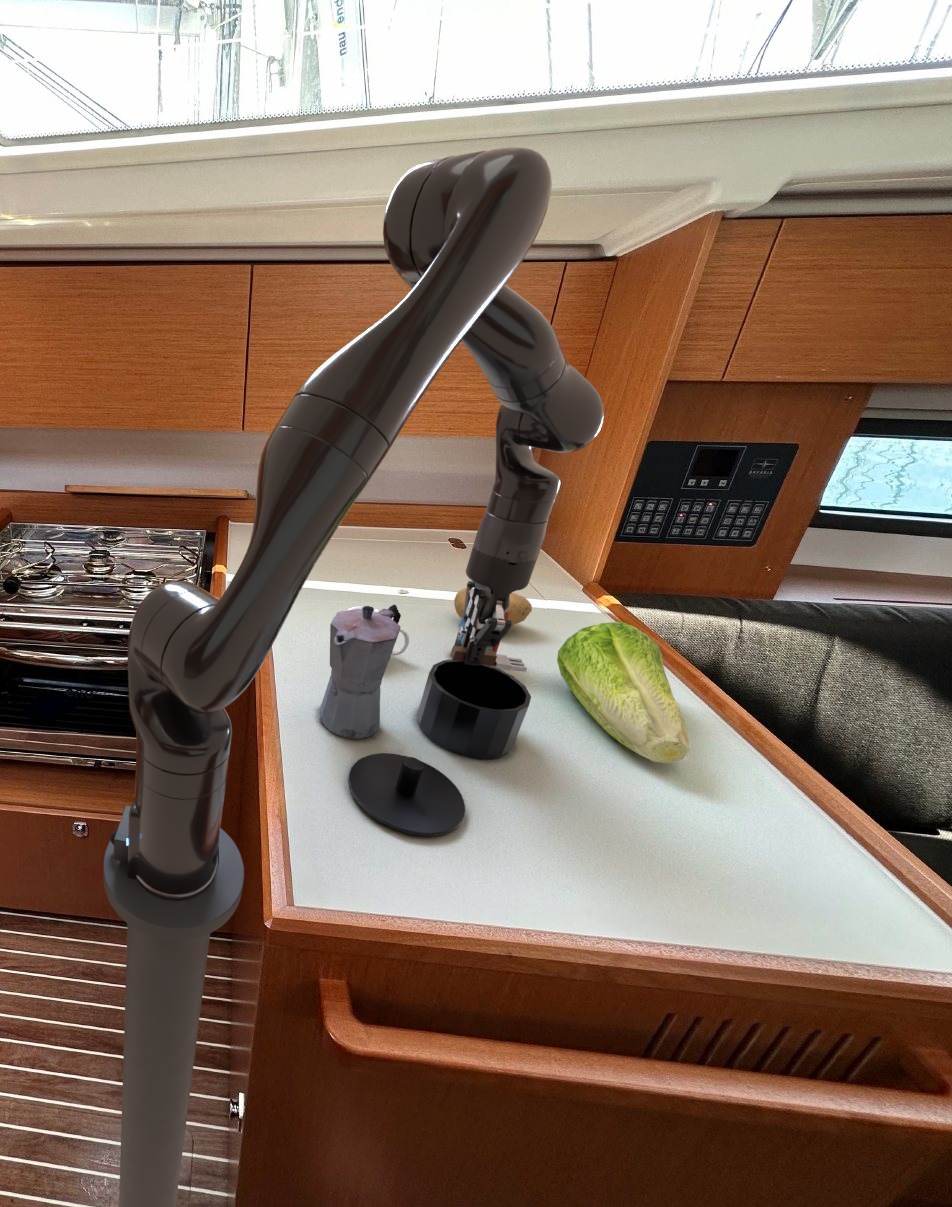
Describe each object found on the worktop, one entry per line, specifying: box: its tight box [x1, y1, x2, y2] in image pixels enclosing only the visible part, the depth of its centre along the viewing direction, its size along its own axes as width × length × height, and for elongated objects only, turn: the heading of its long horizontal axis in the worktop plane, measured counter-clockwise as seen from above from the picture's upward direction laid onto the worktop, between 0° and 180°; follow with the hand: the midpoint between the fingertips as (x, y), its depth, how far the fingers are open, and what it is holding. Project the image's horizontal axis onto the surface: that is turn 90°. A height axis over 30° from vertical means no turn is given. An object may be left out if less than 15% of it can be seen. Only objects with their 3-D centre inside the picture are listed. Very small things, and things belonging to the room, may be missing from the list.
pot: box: [416, 659, 532, 761], centre depth 91 cm, size 13×13×8 cm
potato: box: [453, 587, 533, 627], centre depth 121 cm, size 10×14×8 cm
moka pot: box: [319, 604, 402, 739], centre depth 89 cm, size 10×15×20 cm, turn 132°
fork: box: [450, 645, 528, 673], centre depth 87 cm, size 10×3×2 cm, turn 77°
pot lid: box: [347, 752, 466, 837], centre depth 79 cm, size 14×14×6 cm
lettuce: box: [556, 621, 691, 764], centre depth 93 cm, size 14×24×14 cm
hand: (469, 659), depth 87 cm, fingers closed on fork, 1 cm apart
